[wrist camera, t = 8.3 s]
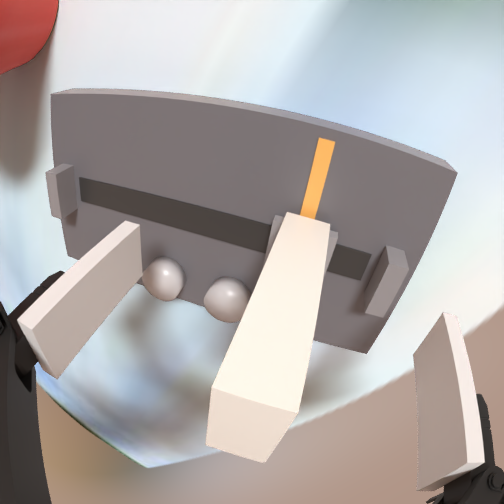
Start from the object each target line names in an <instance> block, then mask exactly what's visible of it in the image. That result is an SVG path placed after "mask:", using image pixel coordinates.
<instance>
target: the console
mask: <svg viewBox="0 0 504 504" xmlns="http://www.w3.org/2000/svg"><path fill="white" fill-rule="evenodd" d="M51 130H52V147H53V160H54V168H53V169H51V170H49V171H47V172H46V180H47V188H48V195H49V202H50V208H51V214H52V216H53V217H56V218H59V219H61V223H62V228H63V234H64V239H65V244H66V249H67V254H68V256H70V257H72V258H75V259H77V260H80V259H81V258H82V257H83V256H84V255H85V254H86V253H88V252H89V251H90V250H91V249H92V248H93V247H94V246H96V245H97V244H98V243H99V242H100V241H101V240H103V239H104V238H105V237H106V236H107V235H109V234H110V233H111V232H112V231H113V230H115V229H116V228H117V227H118V226H119V225H121V224H122V223H123V222H124V221H129V222H132V223H135V224H139V225H140V240H141V258H142V273H143V275H142V277H141V278H140V279H139V280H138V281H137V282H136V283H138V284H141V285H143V286H145V288H146V289H147V291H148V292H149V293H150V294H151V295H153V296H154V297H156V298H157V299H160V300H163V301H171V300H174V299H175V298H176V297H177V298H180V299H183V300H185V301H188V302H191V303H194V304H197V305H200V306H203V307H205V308H206V310H207V311H208V312H209V313H210V314H211V315H212V316H213V317H214V318H216V319H218V320H220V321H223V322H228V323H233V322H237V321H239V320H241V319H242V317H243V314H244V312H245V310H246V307H247V305H248V303H249V300H250V298H251V296H252V293H253V291H254V289H255V286H256V284H257V282H258V279H259V277H260V275H261V272H262V269H263V265H264V260H265V255H266V251H267V246H268V242H269V237H270V232H271V228H272V223H273V220H274V218H275V215H278V216H282V217H285V215H286V213H287V212H289V213H293V214H297V215H300V216H304V217H307V218H311V219H314V220H318V221H321V222H325V223H328V224H330V230H331V231H335V232H338V240H337V242H336V245H335V248H334V251H333V254H332V257H331V260H330V262H329V265H328V268H327V271H326V273H325V276H324V279H323V283H322V290H321V296H320V302H319V309H318V315H317V320H316V326H315V332H314V338H313V340H315V341H319V342H322V343H326V344H330V345H334V346H337V347H341V348H345V349H349V350H353V351H357V352H361V353H365V354H367V353H368V351H369V349H370V348H371V346H372V345H373V343H374V342H375V340H376V338H377V337H378V335H379V333H380V332H381V330H382V329H383V327H384V325H385V324H386V322H387V320H388V318H389V317H390V315H391V313H392V312H393V310H394V308H395V306H396V305H397V303H398V301H399V299H400V297H401V296H402V294H403V292H404V290H405V288H406V286H407V285H408V283H409V281H410V279H411V277H412V275H413V273H414V271H415V269H416V267H417V265H418V263H419V261H420V259H421V257H422V255H423V253H424V251H425V249H426V247H427V245H428V243H429V240H430V238H431V236H432V234H433V232H434V230H435V227H436V225H437V223H438V220H439V218H440V216H441V214H442V211H443V209H444V206H445V204H446V202H447V199H448V197H449V194H450V192H451V189H452V186H453V184H454V181H455V179H456V176H457V172H456V171H455V170H454V169H453V168H452V167H451V166H450V165H449V164H448V163H447V162H446V161H445V160H443V159H440V158H438V157H435V156H433V155H430V154H428V153H425V152H423V151H420V150H417V149H415V148H412V147H409V146H407V145H404V144H401V143H398V142H395V141H392V140H389V139H386V138H383V137H380V136H377V135H374V134H371V133H368V132H365V131H362V130H358V129H355V128H352V127H348V126H345V125H341V124H338V123H334V122H330V121H326V120H323V119H319V118H315V117H311V116H307V115H303V114H298V113H294V112H290V111H285V110H280V109H276V108H271V107H266V106H261V105H255V104H250V103H244V102H238V101H232V100H226V99H219V98H212V97H205V96H197V95H189V94H180V93H170V92H159V91H145V90H128V89H69V90H65V91H61V92H57V93H53V94H51Z"/></svg>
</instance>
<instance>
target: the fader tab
mask: <svg viewBox="0 0 504 504" xmlns="http://www.w3.org/2000/svg"><path fill="white" fill-rule="evenodd" d="M337 240H338V232H335V231H331V230H330V224H328V223H325V222H321V221H318V220H314V219H311V218H307V217H304V216H300V215H297V214H293V213H289V212H287V213H286V215H285V217H282V216H278V215H275V218H274V220H273V223H272V228H271V232H270V237H269V242H268V246H267V251H266V255H265V260H264V265H263V269H262V272H261V275H260V277H259V279H258V282H257V284H256V286H255V289H254V291H253V293H252V296H251V298H250V300H249V303H248V305H247V307H246V310H245V312H244V314H243V317H242V319H241V321H240V324H239V326H238V328H237V330H236V333H235V335H234V337H233V340H232V342H231V344H230V347H229V349H228V351H227V353H226V356H225V358H224V360H223V362H222V365H221V367H220V369H219V372H218V374H217V376H216V378H215V381H214V383H213V385H212V388H211V397H210V406H209V416H208V425H207V435H206V445H207V446H210V447H213V448H216V449H219V450H222V451H225V452H228V453H231V454H235V455H238V456H241V457H245V458H248V459H252V460H255V461H259V462H263V463H265V461H266V460H267V459H268V457H269V456H270V455H271V453H272V452H273V450H274V449H275V447H276V446H277V445H278V443H279V442H280V440H281V439H282V437H283V436H284V434H285V433H286V431H287V430H288V428H289V427H290V425H291V424H292V422H293V420H294V419H295V417H296V416H297V414H298V412H299V407H300V403H301V398H302V393H303V389H304V384H305V379H306V374H307V369H308V364H309V359H310V354H311V348H312V343H313V338H314V332H315V326H316V320H317V315H318V309H319V302H320V296H321V290H322V283H323V279H324V276H325V273H326V271H327V268H328V265H329V262H330V260H331V257H332V254H333V251H334V248H335V245H336V242H337Z"/></svg>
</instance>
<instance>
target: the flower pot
mask: <svg viewBox="0 0 504 504" xmlns="http://www.w3.org/2000/svg"><path fill="white" fill-rule="evenodd" d="M57 9H58V0H0V75H1V74H3V73H5V72H7V71H9V70H11V69H14V68H16V67H18V66H21V65H23V64H25V63H27V62H29V61H30V60H32V59H33V58H34V57H35V56H36V54H37V53H38V52H39V51H40V50H41V49H42V47H43V46H44V45H45V43H46V41H47V39H48V37H49V35H50V33H51V31H52V28H53V25H54V22H55V19H56V15H57Z"/></svg>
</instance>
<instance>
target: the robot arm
mask: <svg viewBox="0 0 504 504" xmlns="http://www.w3.org/2000/svg"><path fill="white" fill-rule="evenodd" d="M142 275H143V273H142V258H141V240H140V225H139V224H135V223H132V222H129V221H124V222H123V223H122V224H121V225H119V226H118V227H117V228H116V229H115V230H113V231H112V232H111V233H110V234H109V235H107V236H106V237H105V238H104V239H103V240H101V241H100V242H99V243H98V244H97V245H96V246H94V247H93V248H92V249H91V250H90V251H89V252H88V253H86V254H85V255H84V256H83V257H82V258H81V259H80V260H79V261H77V262H76V263H75V264H74V265H73V266H72V267H71V268H70V269H69V270H68V271H66V272H63V271H59V272H57V273H55V274H53V275H51V276H49V277H48V278H47V279H46V280H45V281H43V282H42V283H41V284H40V286H38V287H37V288H36V289H35V290H34V292H33V293H31V294H30V295H29V296H28V297H27V298H26V299H25V300H23V301H22V302H21V303H20V304H19V305H18V306H17V307H16V308H15V309H14V310H13V311H12V312H11V313H10V314H9V315H7V313H6V311H5V309H4V307H3V305H2V303H1V302H0V504H52V503H51V500H50V494H49V490H48V485H47V480H46V475H45V469H44V463H43V456H42V450H41V443H40V433H39V424H38V411H37V394H36V370H35V367H34V365H35V364H36V363H37V362H39V364H40V365H41V367H42V369H43V370H44V371H45V372H47V373H48V374H50V375H51V376H53V377H54V378H56V379H57V380H58V378H59V377H60V376H61V374H62V373H63V372H64V370H65V369H66V368H67V366H68V365H69V364H70V363H71V361H72V360H73V359H74V357H75V356H76V355H77V354H78V352H79V351H80V350H81V349H82V347H83V346H84V345H85V343H86V342H87V341H88V340H89V338H90V337H91V336H92V335H93V334H94V332H95V331H96V330H97V329H98V327H99V326H100V325H101V324H102V322H103V321H104V320H105V319H106V318H107V316H108V315H109V314H110V313H111V312H112V310H113V309H114V308H115V307H116V306H117V304H118V303H119V302H120V301H121V300H122V299H123V297H124V296H125V295H126V294H127V293H128V292H129V290H130V289H131V288H132V287H133V286H134V285H135V283H136V282H137V281H138V280H139V279H140V278H141V277H142ZM413 358H414V368H415V378H416V393H417V414H418V474H417V477H418V478H417V491H434V490H437V489H439V488H440V487H442V486H444V492H443V493H441V494H439V495H437V496H435V497H432V498H430V499H429V500H428V501H427V502H426V503H427V504H428V503H430V502H433V501H434V502H433V504H504V472H503V470H502V469H501V468H499V467H498V466H495V461H494V451H493V442H492V435H491V430H490V421H489V420H488V419H489V415H488V408H487V405H486V403H485V401H484V399H483V397H482V395H481V394H476V392H475V387H474V382H473V377H472V372H471V368H470V363H469V359H468V355H467V351H466V347H465V343H464V339H463V335H462V332H461V328H460V325H459V321H458V318H457V316H455V315H451V314H448V313H444V312H443V313H442V315H441V316H440V318H439V319H438V321H437V322H436V323H435V325H434V326H433V328H432V329H431V331H430V332H429V334H428V335H427V336H426V338H425V339H424V341H423V342H422V343H421V345H420V346H419V347H418V349H417V350H416V351H415V353H414V354H413Z"/></svg>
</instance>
